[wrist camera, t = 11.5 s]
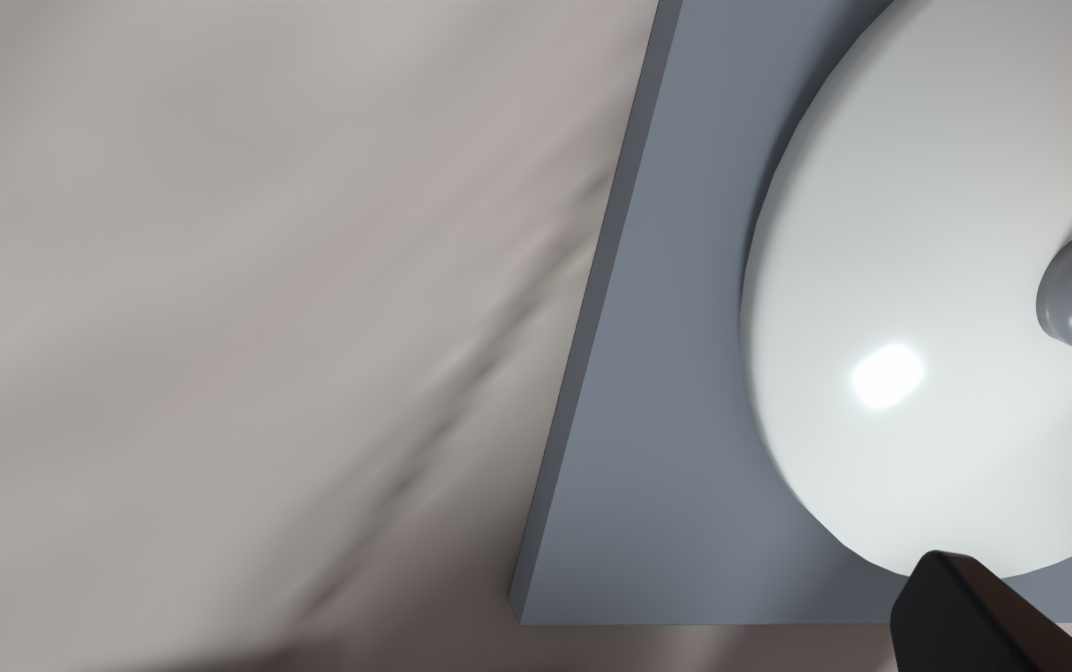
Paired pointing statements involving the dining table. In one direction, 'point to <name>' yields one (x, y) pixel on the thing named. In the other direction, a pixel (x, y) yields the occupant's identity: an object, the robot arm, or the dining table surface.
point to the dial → (925, 290)
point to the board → (696, 358)
